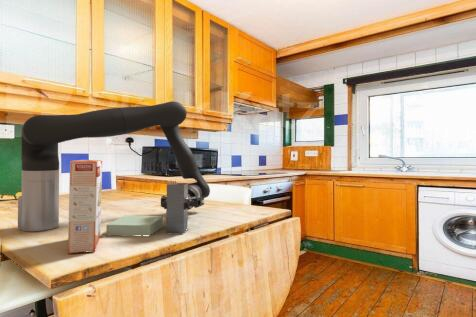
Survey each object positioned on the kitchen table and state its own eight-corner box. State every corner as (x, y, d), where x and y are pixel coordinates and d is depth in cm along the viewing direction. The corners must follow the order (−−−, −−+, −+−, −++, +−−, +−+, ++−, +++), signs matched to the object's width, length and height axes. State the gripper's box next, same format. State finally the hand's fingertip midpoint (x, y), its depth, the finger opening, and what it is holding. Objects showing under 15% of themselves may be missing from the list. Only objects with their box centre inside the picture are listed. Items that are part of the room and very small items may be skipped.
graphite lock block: (166, 233, 82) (166, 184, 82) (170, 229, 87) (171, 182, 87) (183, 234, 82) (184, 184, 82) (187, 229, 87) (187, 183, 87)
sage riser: (106, 235, 79) (106, 224, 79) (125, 225, 91) (125, 215, 91) (149, 236, 79) (149, 225, 79) (162, 225, 91) (162, 216, 91)
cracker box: (97, 252, 66) (98, 160, 65) (66, 255, 63) (67, 160, 63) (102, 235, 79) (103, 159, 78) (77, 237, 76) (78, 159, 76)
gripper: (167, 185, 99) (150, 192, 82) (208, 186, 98) (200, 193, 81) (166, 207, 99) (149, 218, 82) (208, 208, 98) (200, 219, 81)
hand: (175, 205), depth 82 cm, fingers closed on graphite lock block, 5 cm apart
